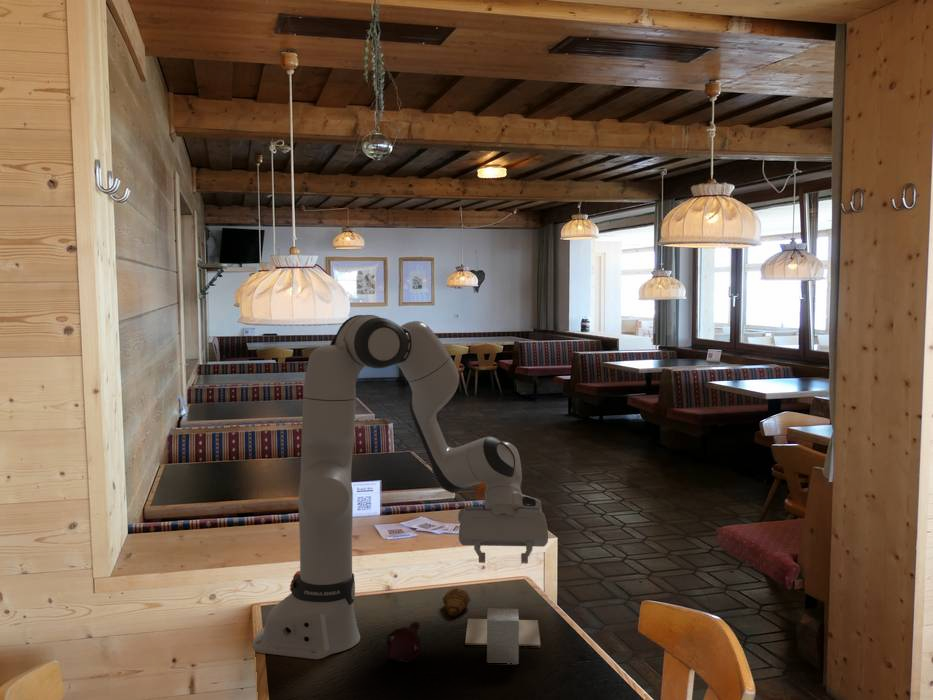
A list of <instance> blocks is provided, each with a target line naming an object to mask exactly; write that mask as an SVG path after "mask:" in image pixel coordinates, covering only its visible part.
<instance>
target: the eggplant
mask: <svg viewBox="0 0 933 700" xmlns="http://www.w3.org/2000/svg"><path fill="white" fill-rule="evenodd" d="M420 625H421V623H420V622H419V621H413V622H411V624H410V625H409V627H407V626H406V627H405V626H404V627H400V628H396V629H394V630H393V631H392V632H391V633H389V634H388V635H387V636H386V641H385V644H386V646H387V652H388V655H389V658H390V660H396V661H397V660H398V661H399V660H405V661H409V662H410V661H412V662H413V661H414V660H415V659H416V658H417V657H419V655H420V651H421V641H422V640H421V637H420V636H419V635H418V631H419V630H420V627H421V626H420ZM398 661H397V662H398ZM410 663H411V662H410Z"/></svg>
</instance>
